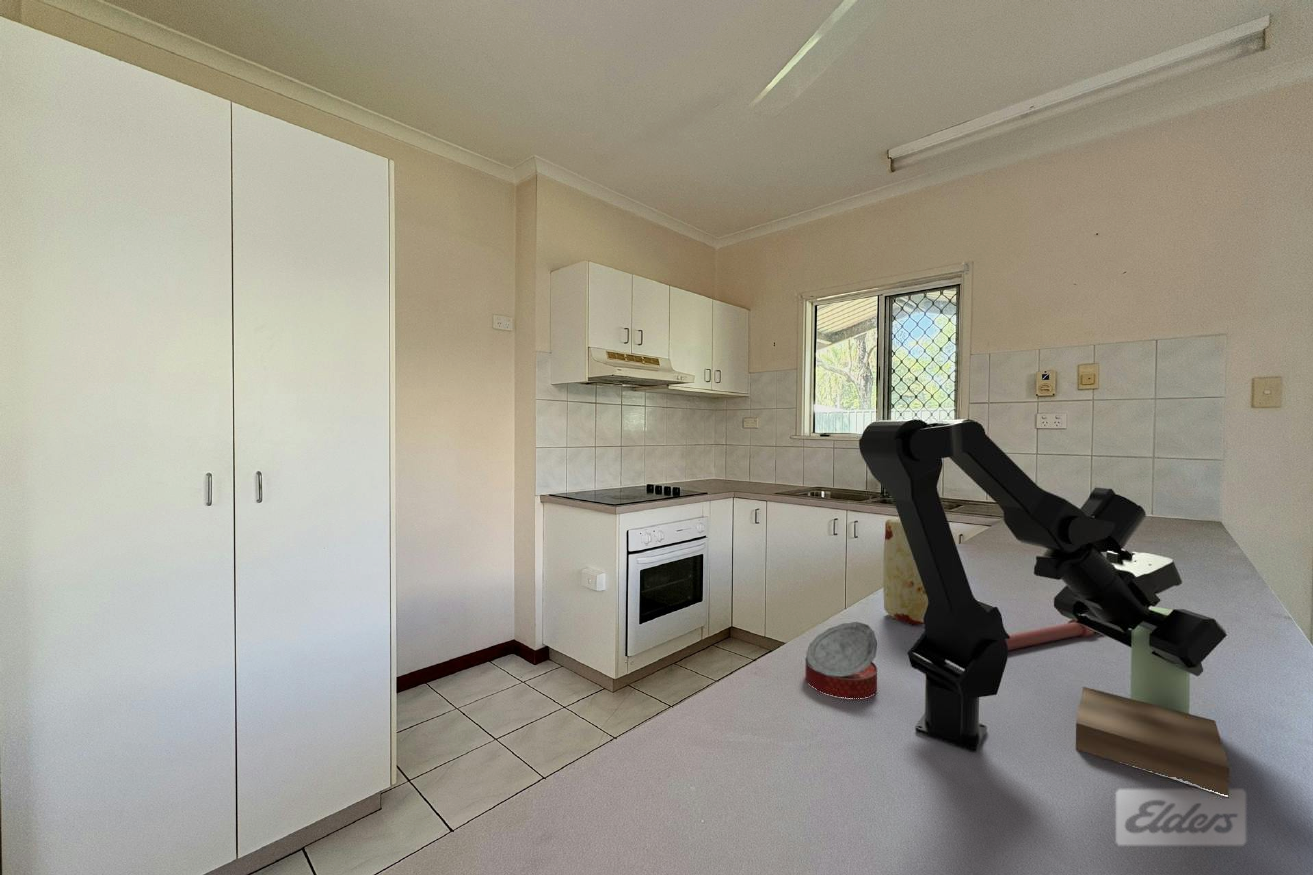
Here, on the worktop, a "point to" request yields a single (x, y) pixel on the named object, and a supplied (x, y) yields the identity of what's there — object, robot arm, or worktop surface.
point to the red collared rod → (1048, 634)
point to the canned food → (843, 661)
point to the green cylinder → (1156, 674)
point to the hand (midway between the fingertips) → (1169, 660)
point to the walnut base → (1152, 739)
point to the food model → (901, 577)
